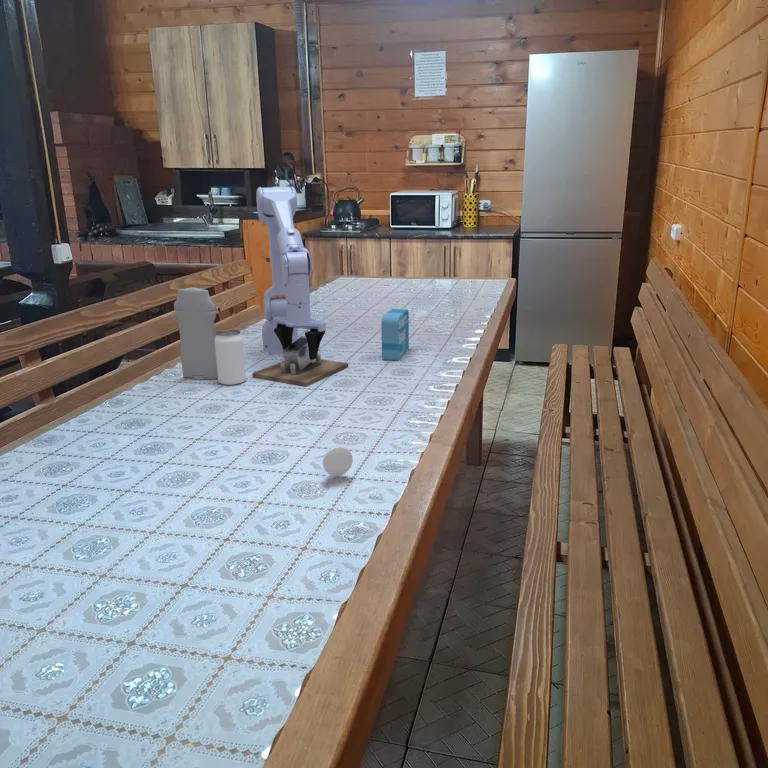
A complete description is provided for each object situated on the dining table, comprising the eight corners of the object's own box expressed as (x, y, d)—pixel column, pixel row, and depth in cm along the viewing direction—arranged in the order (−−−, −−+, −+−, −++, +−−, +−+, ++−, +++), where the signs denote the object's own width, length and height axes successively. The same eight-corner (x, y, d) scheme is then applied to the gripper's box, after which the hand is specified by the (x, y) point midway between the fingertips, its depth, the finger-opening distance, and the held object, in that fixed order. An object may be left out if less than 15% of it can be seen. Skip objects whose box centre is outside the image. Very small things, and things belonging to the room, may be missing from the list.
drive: (287, 369, 165) (282, 351, 162) (305, 352, 171) (301, 335, 168) (300, 371, 163) (295, 353, 160) (318, 354, 169) (314, 337, 166)
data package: (398, 363, 174) (398, 317, 170) (381, 362, 175) (381, 316, 171) (408, 351, 185) (408, 308, 181) (392, 350, 186) (392, 307, 182)
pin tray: (252, 377, 163) (251, 363, 162) (297, 359, 178) (297, 346, 177) (305, 386, 156) (305, 372, 155) (348, 367, 170) (348, 353, 169)
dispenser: (177, 378, 163) (167, 288, 156) (185, 373, 167) (176, 285, 160) (218, 381, 161) (209, 289, 154) (225, 376, 165) (217, 286, 158)
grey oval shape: (325, 479, 109) (323, 451, 108) (319, 472, 112) (318, 444, 110) (353, 474, 111) (353, 446, 109) (347, 467, 114) (346, 439, 112)
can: (251, 378, 162) (247, 330, 158) (237, 386, 156) (232, 336, 153) (227, 376, 164) (223, 328, 160) (213, 384, 158) (208, 334, 155)
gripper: (263, 302, 162) (267, 356, 166) (312, 307, 155) (315, 364, 159) (281, 297, 168) (285, 350, 172) (330, 302, 161) (332, 357, 165)
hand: (300, 356), depth 166 cm, fingers open, 7 cm apart
